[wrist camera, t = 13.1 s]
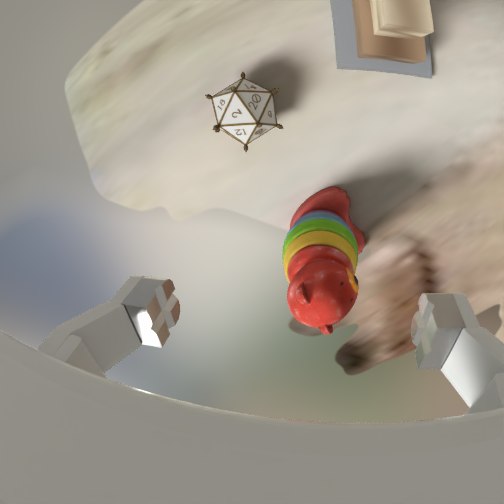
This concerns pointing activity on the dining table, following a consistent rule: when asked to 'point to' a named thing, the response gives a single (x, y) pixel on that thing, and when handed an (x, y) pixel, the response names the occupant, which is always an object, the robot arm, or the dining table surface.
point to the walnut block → (383, 40)
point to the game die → (245, 110)
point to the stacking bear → (322, 260)
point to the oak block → (402, 18)
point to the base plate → (350, 60)
